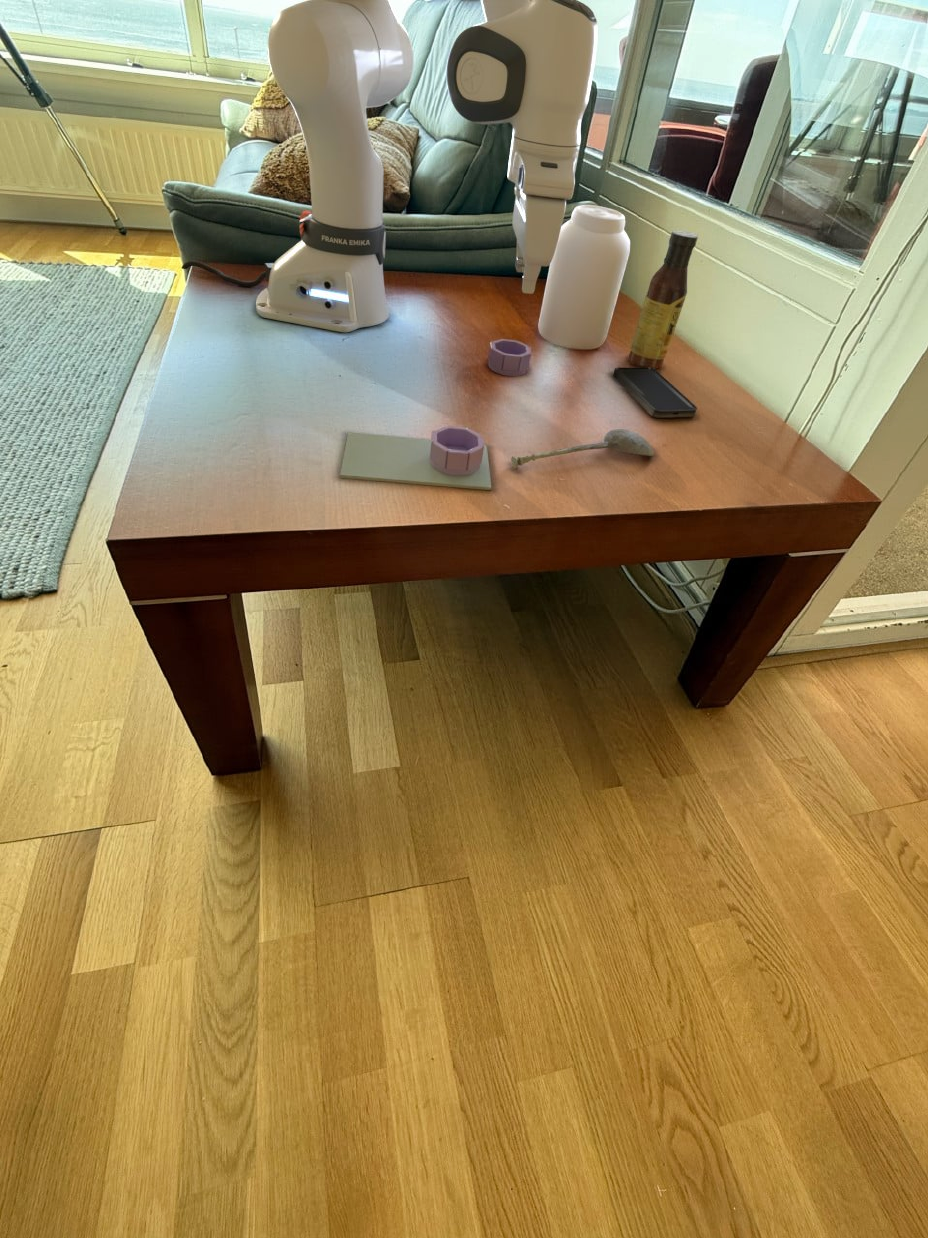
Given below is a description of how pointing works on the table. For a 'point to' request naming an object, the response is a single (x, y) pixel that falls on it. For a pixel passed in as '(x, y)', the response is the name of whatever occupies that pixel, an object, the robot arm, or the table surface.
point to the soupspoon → (600, 446)
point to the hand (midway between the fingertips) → (523, 281)
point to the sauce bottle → (663, 303)
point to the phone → (654, 392)
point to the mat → (403, 463)
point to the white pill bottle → (585, 278)
